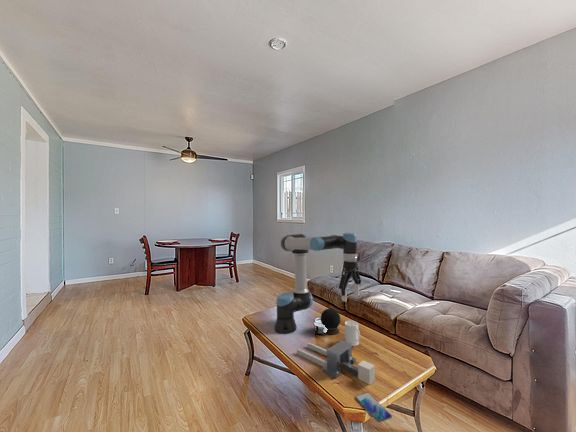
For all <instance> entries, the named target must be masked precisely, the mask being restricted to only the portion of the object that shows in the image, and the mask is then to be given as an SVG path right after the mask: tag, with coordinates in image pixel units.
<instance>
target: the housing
mask: <svg viewBox="0 0 576 432" xmlns="http://www.w3.org/2000/svg"><path fill="white" fill-rule="evenodd" d="M352 347H353V346H352V344H351V343H348V342H346V341H345V340H342V339H341V340H340V341H338V342H337V343H335V344H333V345H332V346H330V347H329V348H328V349H326V350H327V356H326V361H327V366H324V367H323V366H322V368H321V369H322V373H324V374H326V375H328V376H330V377H332V378H333V379H338V377H340V374H341V364H342V363H343V362H347V363H349V364H351V365H354V364H355V363H357V360H356V359H357V358H356V357H354V356H352V355H353V354H352Z"/></svg>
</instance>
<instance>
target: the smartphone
mask: <svg viewBox="0 0 576 432" xmlns="http://www.w3.org/2000/svg"><path fill="white" fill-rule="evenodd" d="M354 398H355V400H356V401H357V402H358V403H359V404H360V405H361V406H362V405H363V406H364V407H365V408H366V409H367V410H366V409H365V408H364V407H363V406H362V407H363V408H364V409H365V410H366V411H367V412H368V414H369V415H371V417H372V418H373V419H374V420H375V422H377V423H382V422H385V421H387V420H391V419H392V418H393V415H392V414H391V413H390V412H389V411H388V410H387V409H386V408H385V407H384V406H382V404H381V403H380V402H378V401H377V399H376V398H375V397H374V396H373V395H371V394H370V392H364V393H361V394H357V395H355V396H354Z"/></svg>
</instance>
